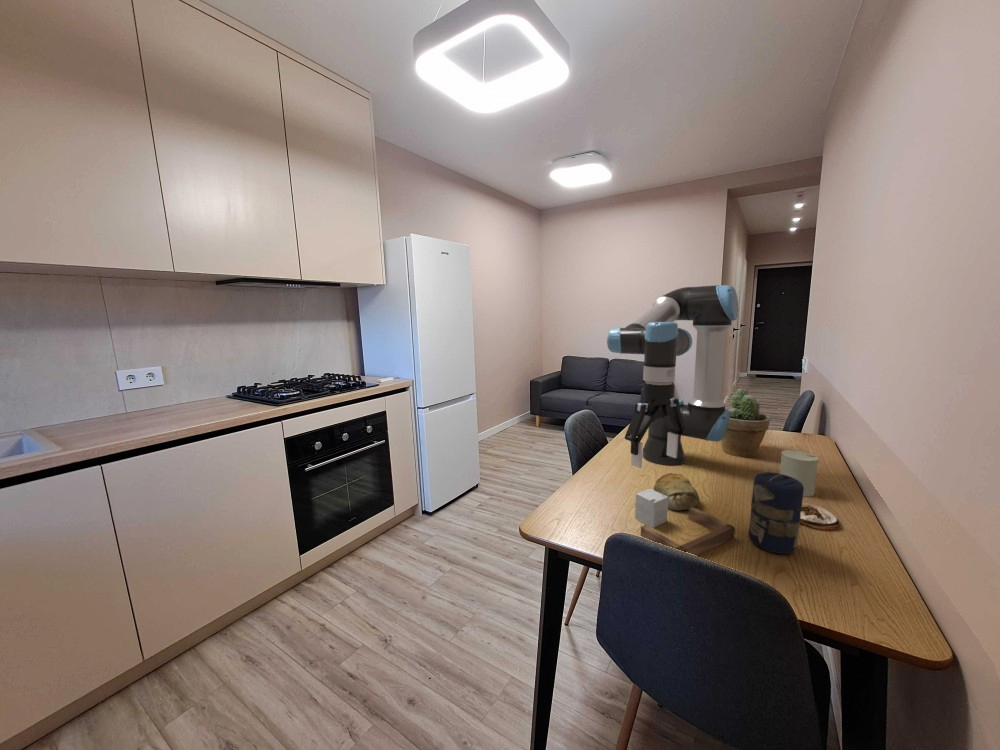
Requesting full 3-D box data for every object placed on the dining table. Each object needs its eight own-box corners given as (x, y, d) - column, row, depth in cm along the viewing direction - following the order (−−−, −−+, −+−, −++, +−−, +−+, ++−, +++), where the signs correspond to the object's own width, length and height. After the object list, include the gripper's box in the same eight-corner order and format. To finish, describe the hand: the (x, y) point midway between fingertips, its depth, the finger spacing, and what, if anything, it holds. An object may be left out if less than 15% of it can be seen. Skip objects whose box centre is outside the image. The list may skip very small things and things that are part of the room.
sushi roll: (836, 513, 106) (838, 500, 105) (851, 541, 93) (853, 525, 92) (772, 501, 113) (773, 488, 112) (777, 525, 100) (778, 510, 100)
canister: (738, 534, 95) (744, 467, 93) (773, 532, 96) (781, 465, 93) (768, 558, 86) (776, 484, 83) (807, 556, 87) (816, 482, 84)
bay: (640, 537, 95) (640, 526, 94) (691, 517, 104) (692, 506, 104) (681, 563, 85) (681, 551, 84) (734, 538, 94) (735, 526, 94)
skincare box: (648, 512, 107) (649, 487, 106) (667, 521, 102) (669, 496, 101) (634, 518, 104) (635, 493, 103) (653, 528, 99) (654, 502, 98)
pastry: (663, 487, 123) (664, 463, 122) (705, 499, 114) (707, 474, 113) (644, 502, 113) (645, 477, 112) (688, 517, 104) (690, 490, 103)
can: (821, 497, 114) (826, 460, 112) (787, 495, 116) (791, 458, 114) (803, 484, 123) (808, 449, 121) (772, 482, 125) (775, 447, 123)
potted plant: (778, 460, 143) (784, 396, 139) (728, 461, 143) (734, 396, 139) (747, 444, 161) (752, 387, 157) (703, 444, 161) (707, 387, 157)
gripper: (635, 389, 88) (631, 475, 91) (702, 380, 100) (697, 456, 103) (612, 384, 94) (609, 465, 98) (677, 376, 106) (673, 448, 109)
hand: (654, 461), depth 100 cm, fingers open, 13 cm apart
